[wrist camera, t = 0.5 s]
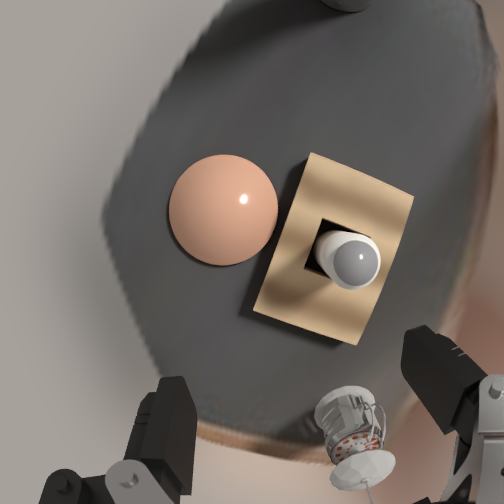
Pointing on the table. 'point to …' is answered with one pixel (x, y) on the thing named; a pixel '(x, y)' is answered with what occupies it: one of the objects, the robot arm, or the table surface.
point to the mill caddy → (301, 240)
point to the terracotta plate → (223, 210)
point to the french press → (353, 439)
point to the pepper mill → (347, 258)
